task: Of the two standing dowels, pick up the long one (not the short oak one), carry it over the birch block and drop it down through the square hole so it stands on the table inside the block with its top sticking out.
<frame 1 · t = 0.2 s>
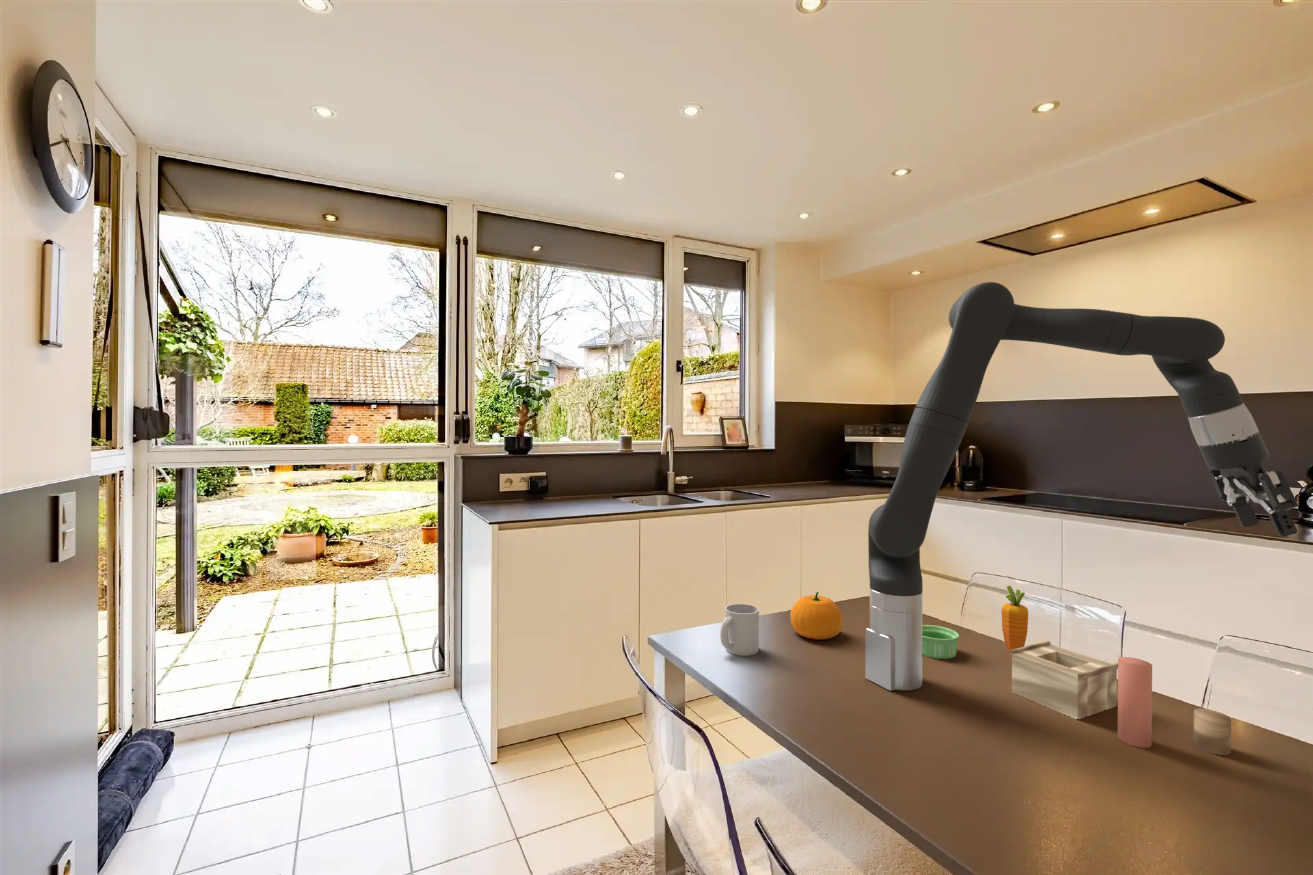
hand: (1268, 529, 94), 31 cm above the table, tool tilted 20°, fingers open, 8 cm apart
cup: (737, 652, 125), on the table
long dowel: (1134, 740, 89), on the table
ramekin: (935, 653, 124), on the table
carrot: (1014, 660, 120), on the table
short dowel: (1211, 748, 87), on the table
fruit: (816, 635, 135), on the table
hole block: (1062, 699, 102), on the table
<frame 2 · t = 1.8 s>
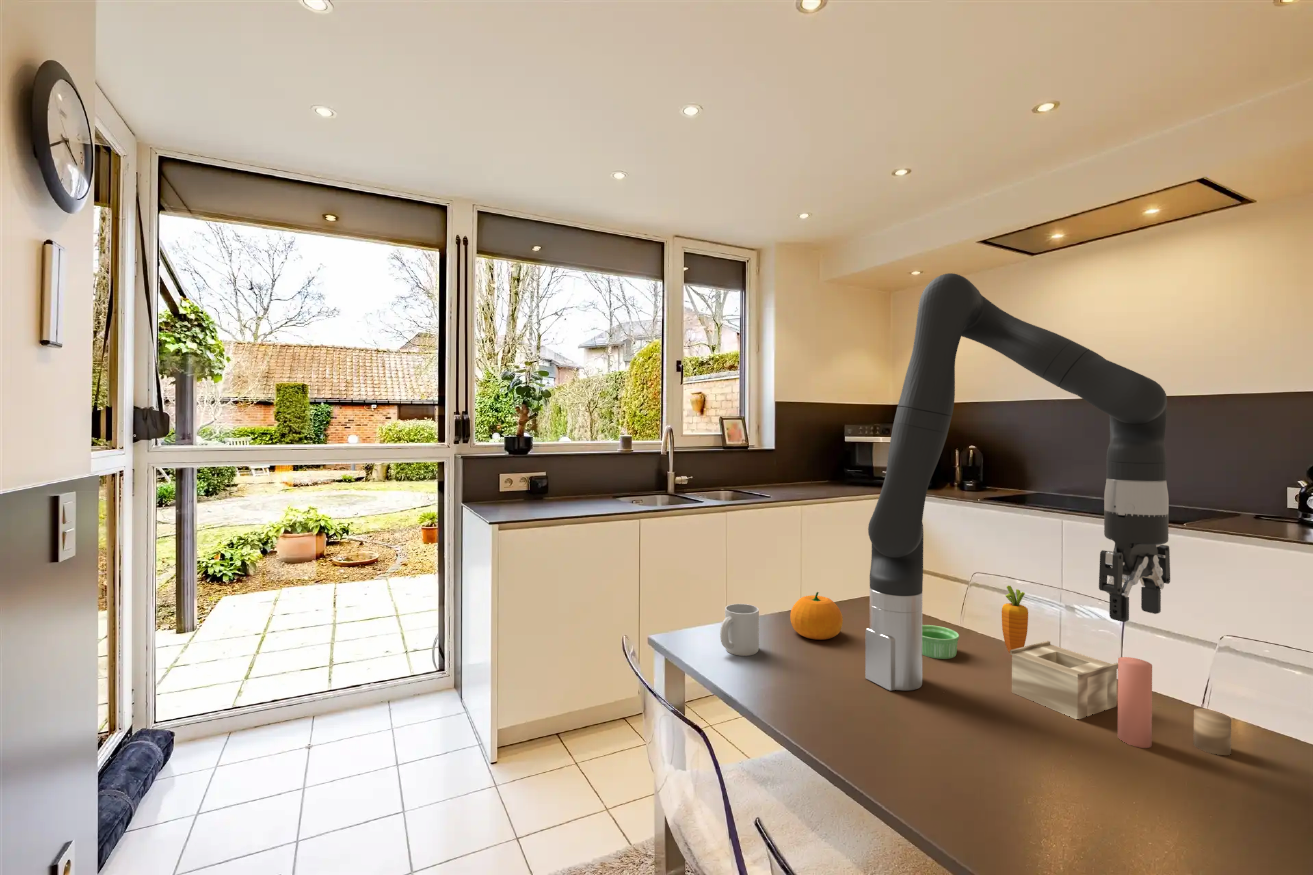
hand: (1135, 616, 88), 19 cm above the table, tool pointing down, fingers open, 8 cm apart
nothing on the table moved.
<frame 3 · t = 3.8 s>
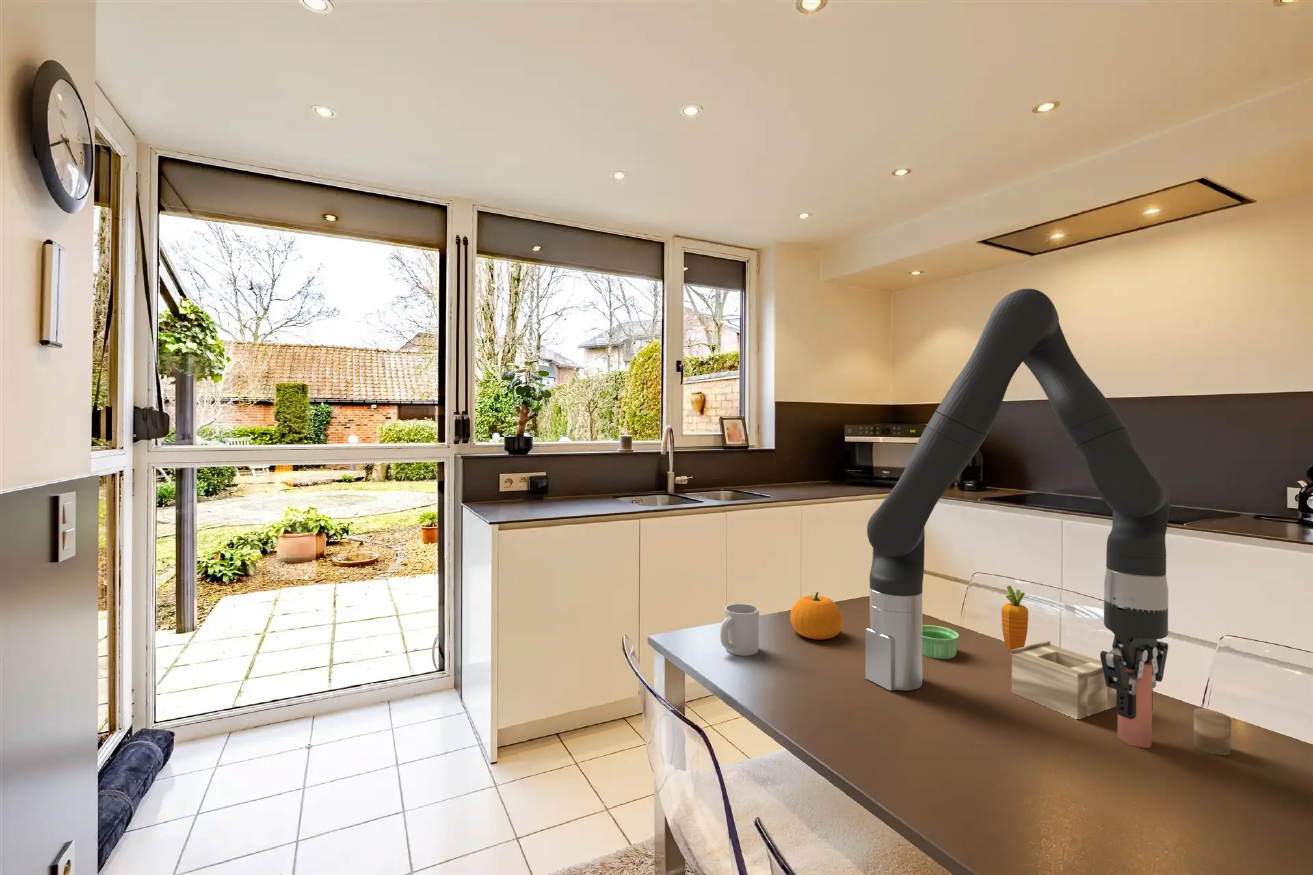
hand: (1134, 712, 89), 4 cm above the table, tool pointing down, fingers closed on long dowel, 4 cm apart
long dowel: (1134, 740, 89), on the table, touching gripper
everything else where it was.
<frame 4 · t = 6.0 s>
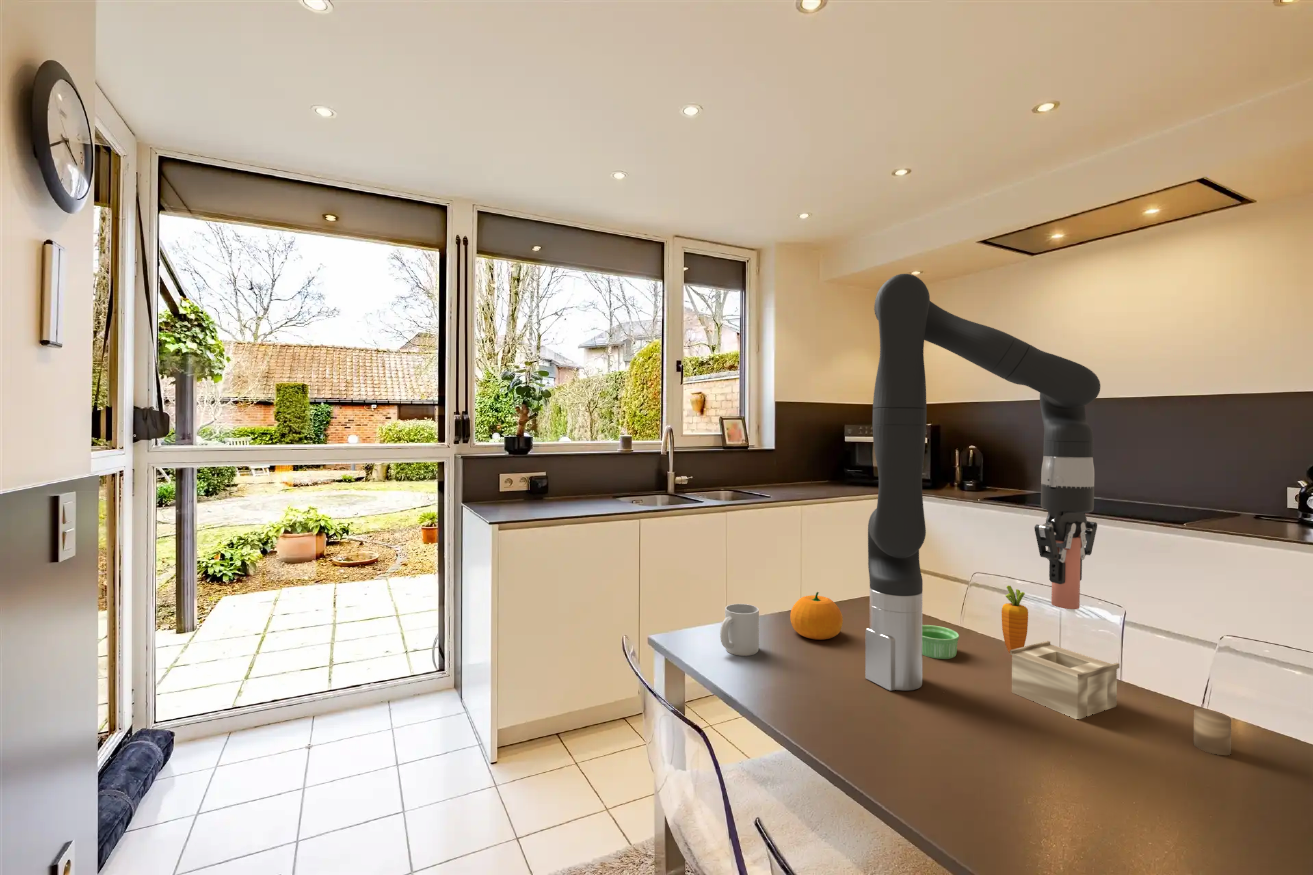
hand: (1065, 581, 101), 21 cm above the table, tool pointing down, fingers closed on long dowel, 4 cm apart
long dowel: (1065, 605, 101), point 17 cm above the table, touching gripper
everything else where it was.
when the fingers open (10 cm above the table, at t = 8.6 s): long dowel drops 5 cm, resting in hole block.
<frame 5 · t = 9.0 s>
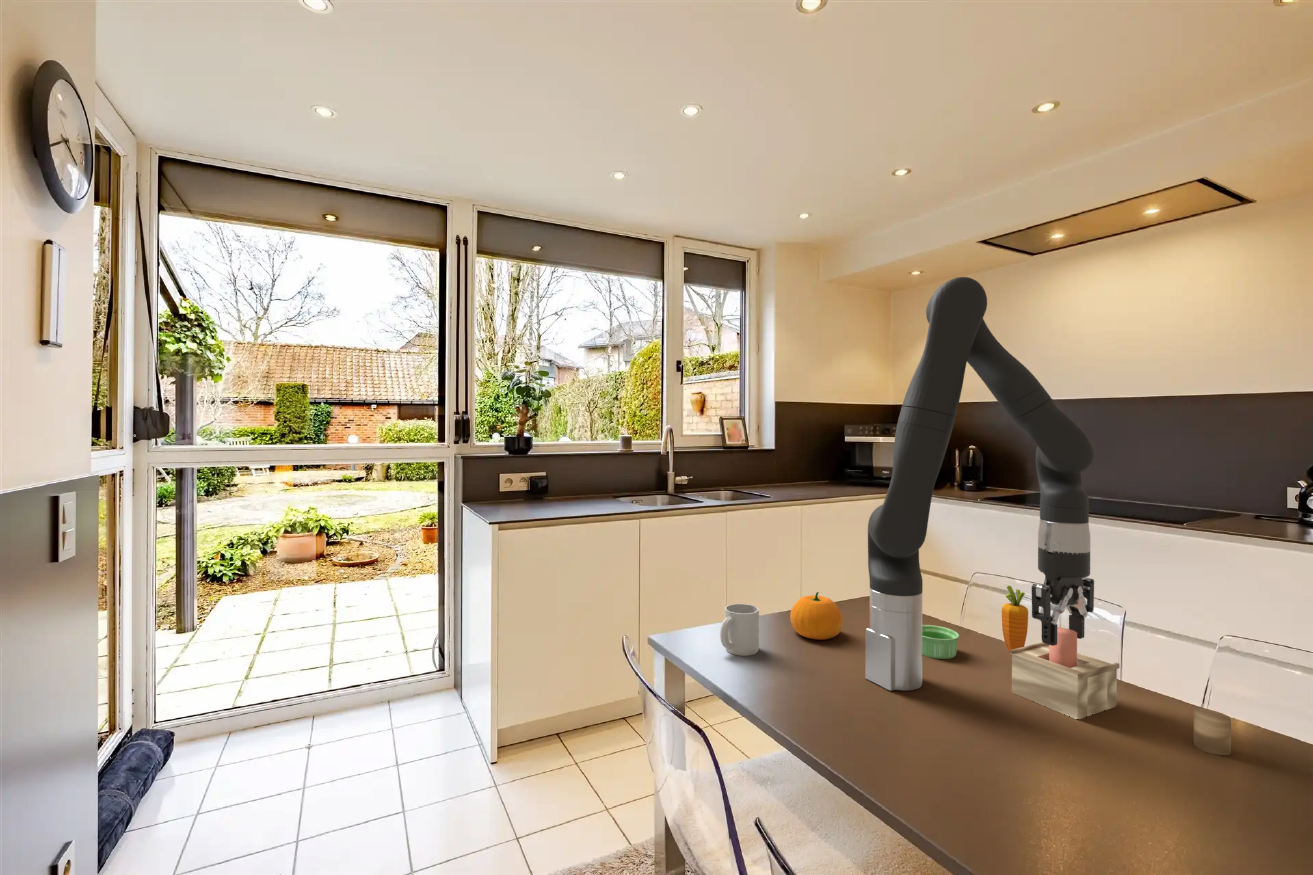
hand: (1063, 640, 102), 10 cm above the table, tool pointing down, fingers open, 7 cm apart
long dowel: (1062, 699, 102), resting in hole block
everything else where it was.
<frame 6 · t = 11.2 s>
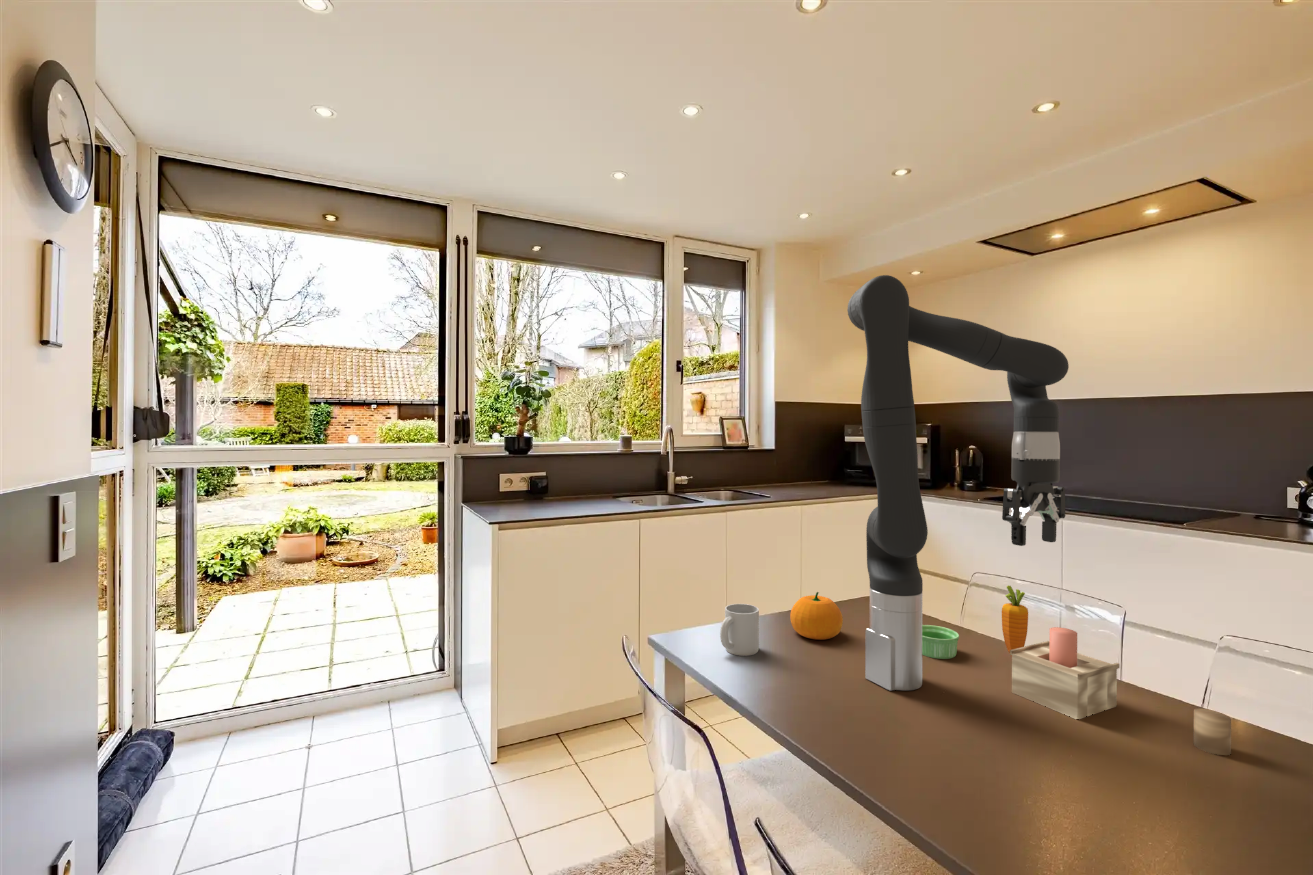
hand: (1033, 543, 109), 26 cm above the table, tool pointing down, fingers open, 8 cm apart
nothing on the table moved.
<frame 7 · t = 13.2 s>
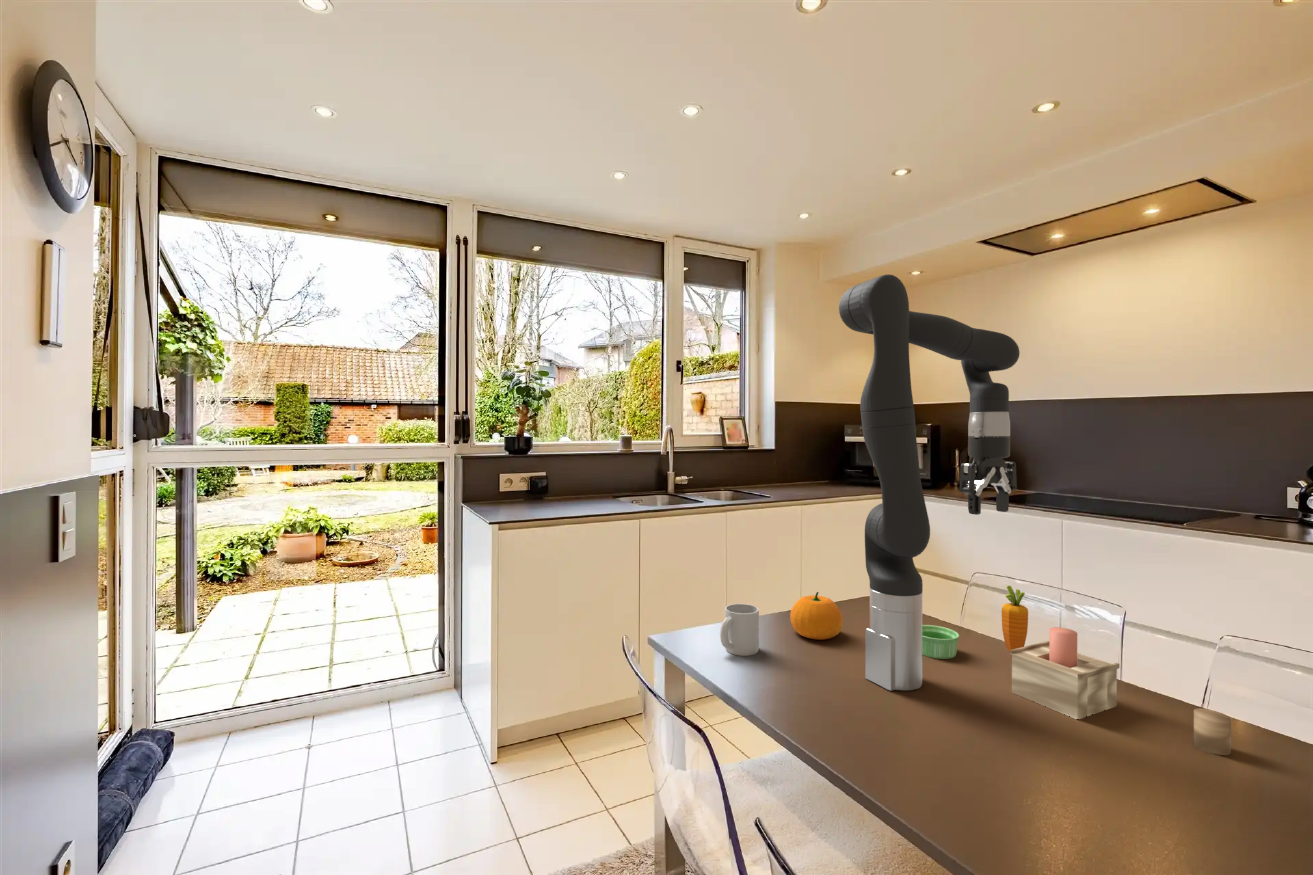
hand: (988, 512, 121), 30 cm above the table, tool pointing down, fingers open, 8 cm apart
nothing on the table moved.
at the end: long dowel 0.0 cm off-centre on the hole block, point 0.0 cm above the hole block's base; long dowel tilted 0°; the gripper is holding nothing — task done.
